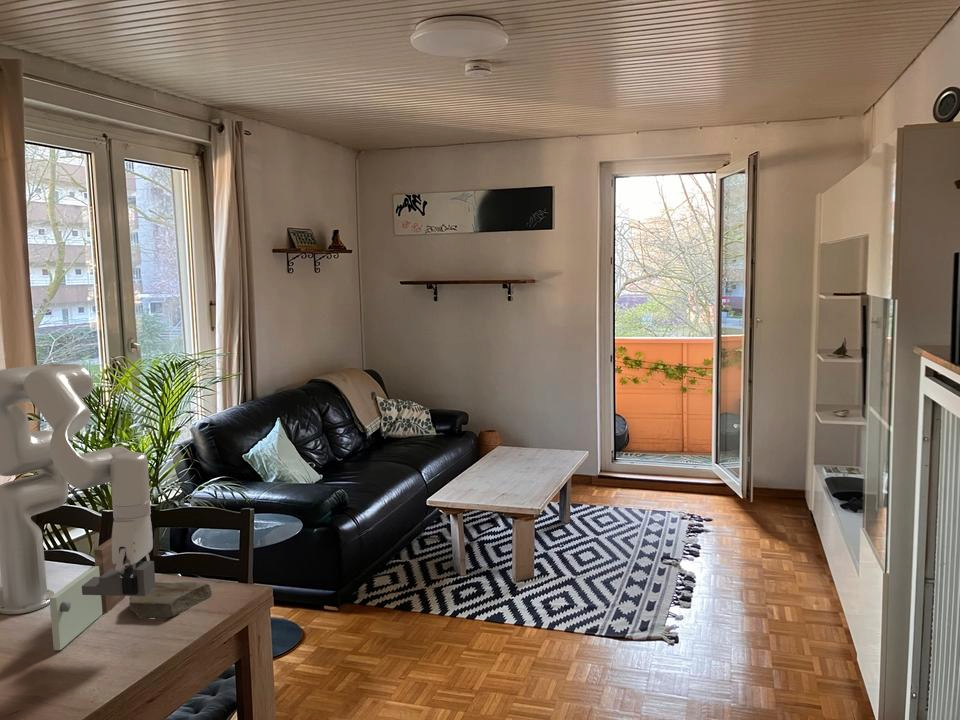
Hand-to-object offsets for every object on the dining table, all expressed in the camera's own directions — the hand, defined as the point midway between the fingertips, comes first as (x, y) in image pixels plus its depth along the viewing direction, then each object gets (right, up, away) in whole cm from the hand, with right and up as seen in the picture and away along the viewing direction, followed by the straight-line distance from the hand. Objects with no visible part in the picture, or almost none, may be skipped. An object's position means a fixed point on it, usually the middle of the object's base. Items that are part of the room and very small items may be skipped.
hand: (136, 587), depth 172 cm
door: (-15, -12, +6) cm, 20 cm away
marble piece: (-1, -11, +20) cm, 23 cm away
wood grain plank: (-15, -10, +23) cm, 30 cm away
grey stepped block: (-4, -1, 0) cm, 4 cm away
